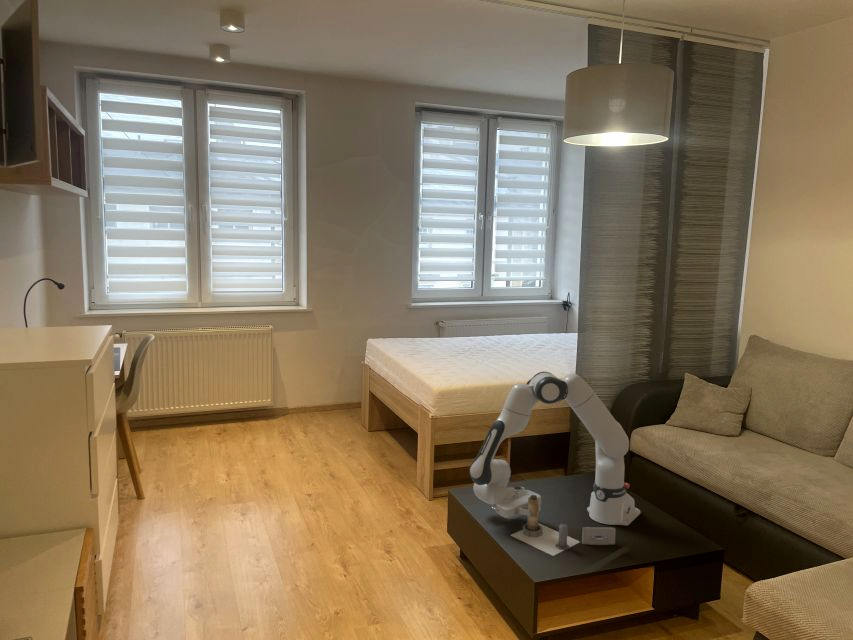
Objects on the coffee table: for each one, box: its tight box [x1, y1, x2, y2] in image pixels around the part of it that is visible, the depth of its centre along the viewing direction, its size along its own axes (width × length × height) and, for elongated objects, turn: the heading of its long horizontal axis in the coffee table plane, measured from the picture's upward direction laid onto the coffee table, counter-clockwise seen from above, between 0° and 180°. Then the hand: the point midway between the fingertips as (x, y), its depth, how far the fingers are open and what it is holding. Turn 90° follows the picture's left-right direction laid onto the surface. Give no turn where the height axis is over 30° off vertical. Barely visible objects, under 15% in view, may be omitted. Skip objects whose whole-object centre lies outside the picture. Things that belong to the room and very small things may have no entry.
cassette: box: [581, 526, 617, 546], centre depth 236 cm, size 12×2×8 cm, turn 90°
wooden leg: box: [526, 495, 540, 531], centre depth 243 cm, size 4×4×13 cm
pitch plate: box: [510, 522, 581, 557], centre depth 239 cm, size 16×20×10 cm
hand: (535, 511), depth 242 cm, fingers closed on wooden leg, 4 cm apart
